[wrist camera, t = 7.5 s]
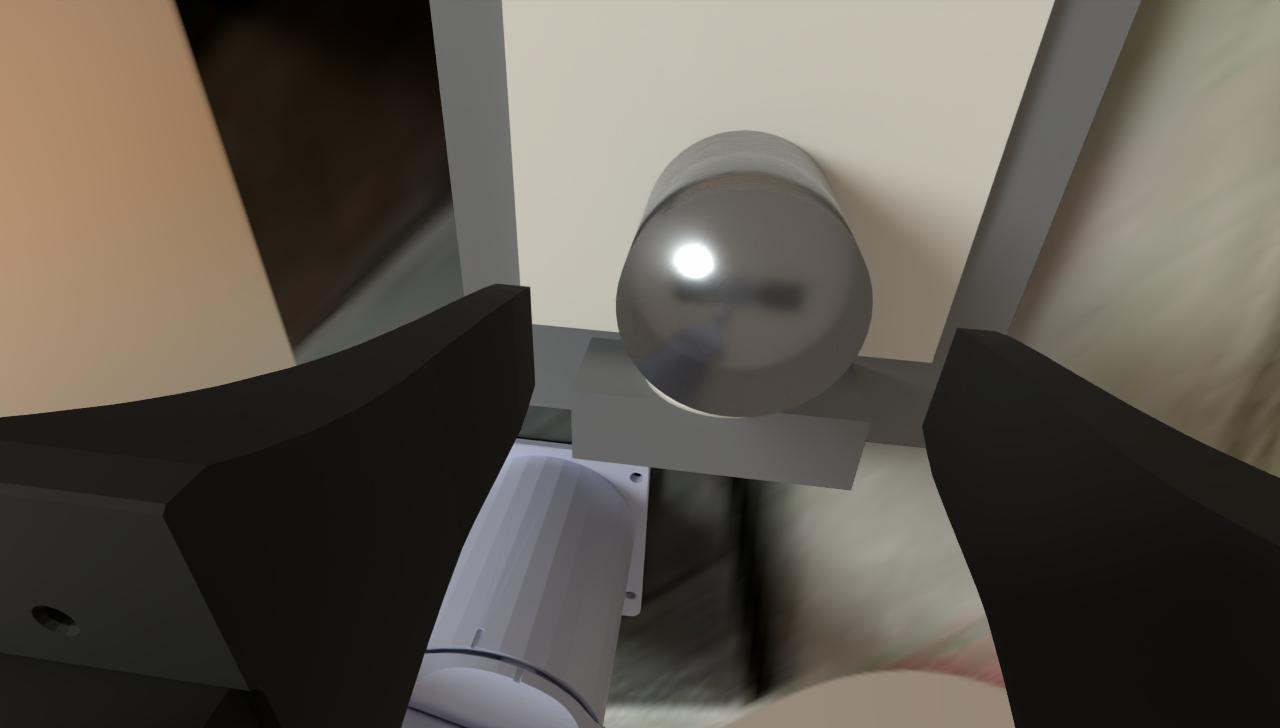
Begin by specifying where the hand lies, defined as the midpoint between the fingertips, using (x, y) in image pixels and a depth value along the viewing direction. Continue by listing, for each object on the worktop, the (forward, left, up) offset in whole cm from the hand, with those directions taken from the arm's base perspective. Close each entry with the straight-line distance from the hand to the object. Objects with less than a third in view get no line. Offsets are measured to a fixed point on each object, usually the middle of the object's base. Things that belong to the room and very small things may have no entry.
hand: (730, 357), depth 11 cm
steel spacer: (0, 0, -7) cm, 7 cm away
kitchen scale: (+2, 0, -9) cm, 10 cm away
